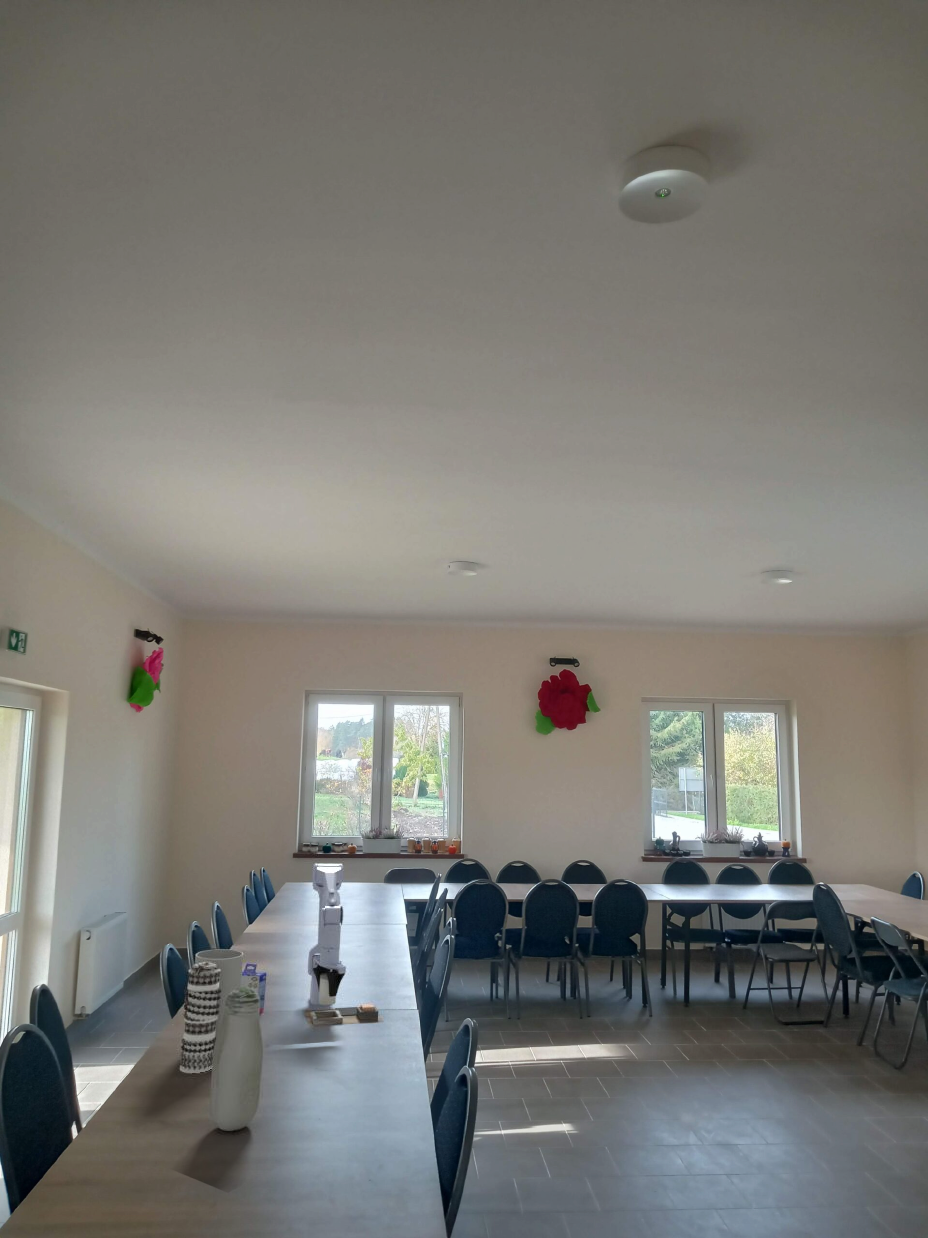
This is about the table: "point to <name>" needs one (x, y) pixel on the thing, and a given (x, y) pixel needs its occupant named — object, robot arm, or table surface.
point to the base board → (340, 1017)
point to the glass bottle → (237, 1062)
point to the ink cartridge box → (255, 982)
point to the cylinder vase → (224, 974)
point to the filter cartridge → (325, 991)
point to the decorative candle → (200, 1018)
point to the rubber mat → (347, 1011)
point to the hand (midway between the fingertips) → (327, 994)
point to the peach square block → (367, 1007)
